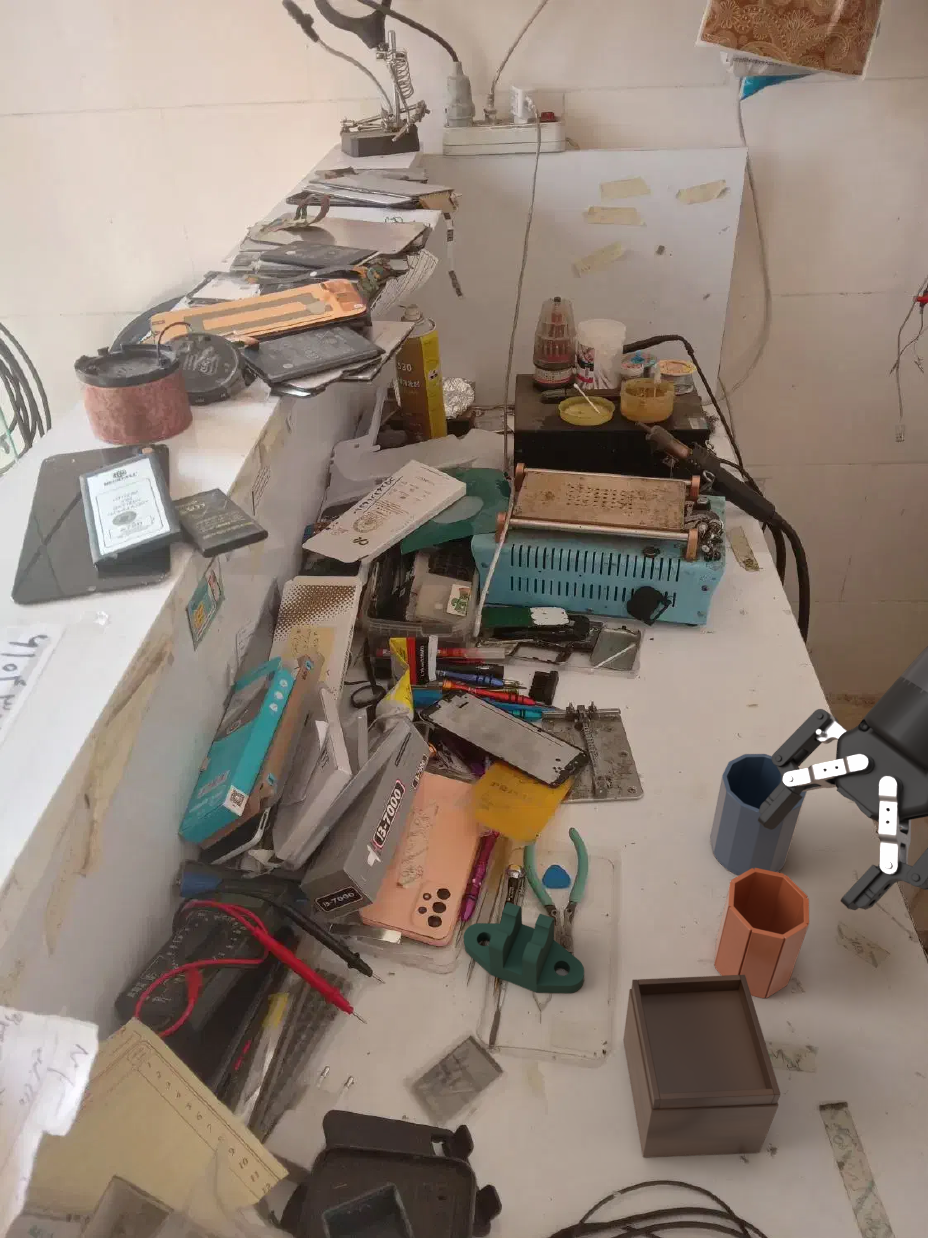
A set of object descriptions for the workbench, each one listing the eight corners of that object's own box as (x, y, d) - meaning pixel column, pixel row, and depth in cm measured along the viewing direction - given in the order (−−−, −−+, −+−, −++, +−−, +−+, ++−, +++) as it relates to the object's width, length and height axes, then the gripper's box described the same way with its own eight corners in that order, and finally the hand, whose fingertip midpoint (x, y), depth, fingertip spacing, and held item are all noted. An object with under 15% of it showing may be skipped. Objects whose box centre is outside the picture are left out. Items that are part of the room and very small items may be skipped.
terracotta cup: (803, 975, 69) (826, 914, 64) (749, 1009, 67) (767, 950, 62) (753, 919, 74) (769, 858, 68) (700, 950, 72) (713, 889, 66)
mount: (455, 961, 72) (451, 929, 69) (475, 918, 75) (472, 886, 72) (574, 1007, 68) (576, 976, 65) (590, 960, 71) (592, 928, 68)
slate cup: (802, 859, 78) (823, 793, 72) (746, 891, 76) (762, 826, 70) (750, 808, 83) (765, 743, 77) (695, 837, 81) (707, 772, 75)
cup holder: (728, 1035, 66) (746, 973, 60) (759, 1153, 59) (782, 1096, 53) (623, 1039, 66) (630, 978, 60) (642, 1157, 59) (653, 1101, 54)
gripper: (853, 638, 64) (719, 794, 67) (1029, 755, 54) (862, 933, 57) (884, 665, 69) (758, 810, 72) (1051, 777, 59) (896, 940, 62)
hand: (804, 864), depth 64 cm, fingers open, 8 cm apart
